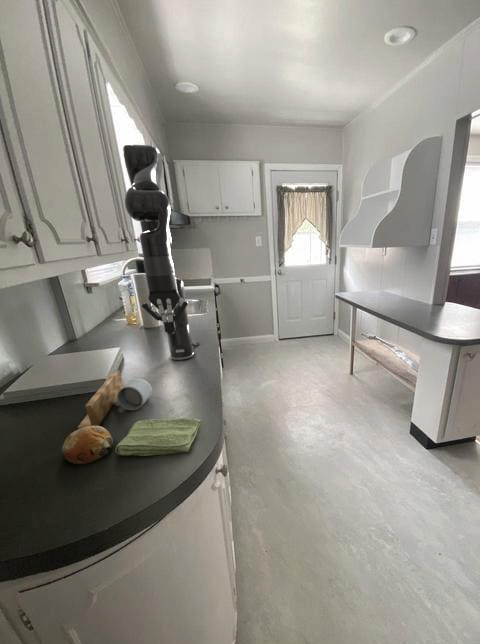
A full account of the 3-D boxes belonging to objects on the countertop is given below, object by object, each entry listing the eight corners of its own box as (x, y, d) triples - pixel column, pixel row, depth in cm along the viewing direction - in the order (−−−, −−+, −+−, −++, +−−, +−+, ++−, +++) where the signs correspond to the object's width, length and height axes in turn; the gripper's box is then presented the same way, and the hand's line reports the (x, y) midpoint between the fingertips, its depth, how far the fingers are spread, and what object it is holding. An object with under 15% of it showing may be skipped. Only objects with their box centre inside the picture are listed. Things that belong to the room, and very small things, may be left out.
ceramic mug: (155, 397, 98) (150, 375, 95) (145, 410, 90) (139, 387, 87) (122, 398, 98) (116, 376, 95) (109, 411, 90) (102, 388, 87)
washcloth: (191, 455, 71) (189, 444, 70) (114, 459, 70) (110, 447, 69) (202, 424, 83) (201, 414, 82) (137, 427, 82) (134, 416, 81)
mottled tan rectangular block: (108, 390, 103) (102, 371, 100) (123, 388, 104) (119, 370, 101) (77, 429, 81) (70, 407, 79) (98, 427, 82) (91, 405, 80)
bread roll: (110, 448, 80) (98, 420, 79) (122, 448, 72) (109, 417, 72) (67, 468, 73) (53, 438, 72) (76, 471, 65) (60, 437, 65)
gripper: (186, 271, 88) (194, 328, 95) (138, 272, 86) (150, 331, 93) (183, 273, 81) (192, 335, 88) (131, 275, 79) (144, 339, 86)
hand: (170, 333), depth 90 cm, fingers closed
